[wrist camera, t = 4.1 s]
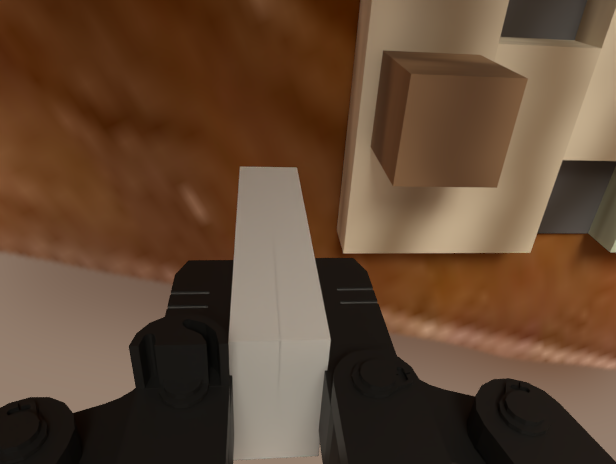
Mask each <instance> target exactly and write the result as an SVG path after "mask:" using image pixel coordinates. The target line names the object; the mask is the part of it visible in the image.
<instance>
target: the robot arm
mask: <svg viewBox="0 0 616 464" xmlns="http://www.w3.org/2000/svg"><path fill="white" fill-rule="evenodd" d="M372 288H373V287H372V284H371V281H370V279H369V276H368V273H367V271H366V270H365V269H364V268H363V267H362V266H361V265H360V264H359V263H358V262H357V261H356V260H355V259H353V258H315V257H314V252H313V247H312V242H311V236H310V231H309V226H308V221H307V216H306V211H305V206H304V201H303V196H302V191H301V186H300V181H299V176H298V171H297V167H240V172H239V187H238V203H237V218H236V233H235V249H234V260H192V261H188V262H187V263H186V264H185V265H184V266H183V267H182V268H181V269H180V270H179V271H178V272H177V273H176V274H175V278H174V282H173V286H172V290H171V295H170V298H169V303H168V309H167V311H166V315H165V317H163V318H161V319H159V320H156V321H154V322H151V323H149V324H148V325H147V326H145V327H144V328H143V329H142V330H140V331H139V332H138V333H137V334H136V335H135V337H134V339H133V340H132V342H131V344H130V345H129V350H130V356H131V362H132V367H133V374H134V379H135V385H136V388H135V389H134V390H133V391H131V392H129V393H128V394H126V395H124V396H123V397H121V398H119V399H116V400H114V401H111V402H108V403H106V404H103V405H99V406H96V407H92V408H89V409H86V410H82V411H79V412H76V413H72V411H71V410H70V409H69V408H68V406H67V405H66V404H65V403H63V402H61V401H58V400H55V399H53V398H50V397H32V398H31V397H30V398H26V399H23V400H19V401H16V402H12V403H9V404H7V405H5V406H3V407H1V408H0V464H233V460H250V459H266V458H267V459H269V458H288V457H307V456H318V455H319V445H321V453H322V460H323V464H616V462H615V461H614V460H613V459H612V457H611V456H610V455H609V454H608V453H607V452H606V451H605V450H604V449H603V448H602V447H601V446H600V445H599V444H598V443H597V442H596V441H595V440H594V439H593V438H592V437H591V436H590V435H589V434H588V433H587V432H586V430H585V429H584V428H583V427H582V426H581V425H580V424H579V423H578V422H577V421H576V420H575V419H574V418H573V417H572V416H571V415H570V414H569V413H568V412H567V411H566V410H565V409H564V408H563V407H562V406H561V405H560V404H559V403H558V402H557V401H556V400H555V399H553V398H552V397H551V396H550V395H548V394H547V393H546V392H545V391H543V390H541V389H539V388H537V387H535V386H533V385H531V384H529V383H527V382H523V381H518V380H514V379H509V378H507V379H494V380H491V381H489V382H488V383H485V384H484V385H482V386H481V388H480V390H479V391H478V393H477V394H476V396H475V397H474V396H470V395H465V394H461V393H457V392H453V391H448V390H444V389H441V388H438V387H434V386H431V385H429V384H427V383H425V382H423V381H421V380H419V378H418V377H417V375H416V373H415V372H414V371H413V369H412V367H411V366H409V365H408V364H407V363H406V362H404V361H403V360H402V359H400V358H399V357H397V355H396V353H395V350H394V347H393V344H392V341H391V338H390V336H389V333H388V330H387V327H386V324H385V321H384V318H383V316H382V313H381V310H380V307H379V304H377V298H376V296H375V293H374V290H373V289H372Z"/></svg>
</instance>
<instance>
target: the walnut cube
mask: <svg viewBox="0 0 616 464" xmlns="http://www.w3.org/2000/svg"><path fill="white" fill-rule="evenodd" d="M527 81H528V78H526V77H524V76H522V75H520V74H518V73H516V72H514V71H512V70H510V69H508V68H506V67H504V66H502V65H500V64H498V63H496V62H494V61H492V60H490V59H488V58H486V57H484V56H482V55H475V54H452V53H430V52H407V51H384V50H383V55H382V63H381V70H380V78H379V86H378V93H377V101H376V109H375V116H374V124H373V132H372V139H371V149H372V150H373V152H374V154H375V156H376V157H377V159H378V161H379V163H380V164H381V166H382V168H383V170H384V171H385V173H386V175H387V177H388V178H389V180H390V182H391V184H392V186H404V187H487V188H497V186H498V183H499V179H500V176H501V172H502V169H503V165H504V162H505V158H506V154H507V151H508V147H509V144H510V140H511V137H512V133H513V130H514V126H515V123H516V119H517V116H518V112H519V109H520V105H521V102H522V98H523V95H524V91H525V88H526V84H527Z"/></svg>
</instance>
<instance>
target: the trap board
mask: <svg viewBox="0 0 616 464" xmlns="http://www.w3.org/2000/svg"><path fill="white" fill-rule="evenodd" d="M383 50H384V51H407V52H430V53H452V54H475V55H482V56H484V57H486V58H488V59H490V60H492V61H494V62H496V63H498V64H500V65H502V66H504V67H506V68H508V69H510V70H512V71H514V72H516V73H518V74H520V75H522V76H524V77H526V78H528V81H527V84H526V88H525V91H524V95H523V98H522V102H521V105H520V109H519V112H518V116H517V119H516V123H515V126H514V130H513V133H512V137H511V140H510V144H509V147H508V151H507V154H506V158H505V162H504V165H503V169H502V172H501V176H500V179H499V183H498V186H497V188H487V187H404V186H392V184H391V182H390V180H389V178H388V177H387V175H386V173H385V171H384V170H383V168H382V166H381V164H380V163H379V161H378V159H377V157H376V156H375V154H374V152H373V150H372V149H371V139H372V132H373V124H374V116H375V109H376V101H377V93H378V86H379V78H380V70H381V63H382V55H383ZM337 233H338V236H339V240H340V243H341V247H342V250H343V253H530V252H531V249H532V247H533V244H534V241H535V238H536V235H537V233H588V234H589V235H591V236H592V237H593V238H594V239H595V240H596V241H597V242H599V243H600V244H601V245H602V246H603V247H604V248H605V249H607V250H608V251H609V252H616V0H360V9H359V19H358V28H357V38H356V48H355V58H354V67H353V77H352V87H351V97H350V106H349V116H348V126H347V136H346V146H345V155H344V165H343V175H342V185H341V194H340V204H339V214H338V224H337Z"/></svg>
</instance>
